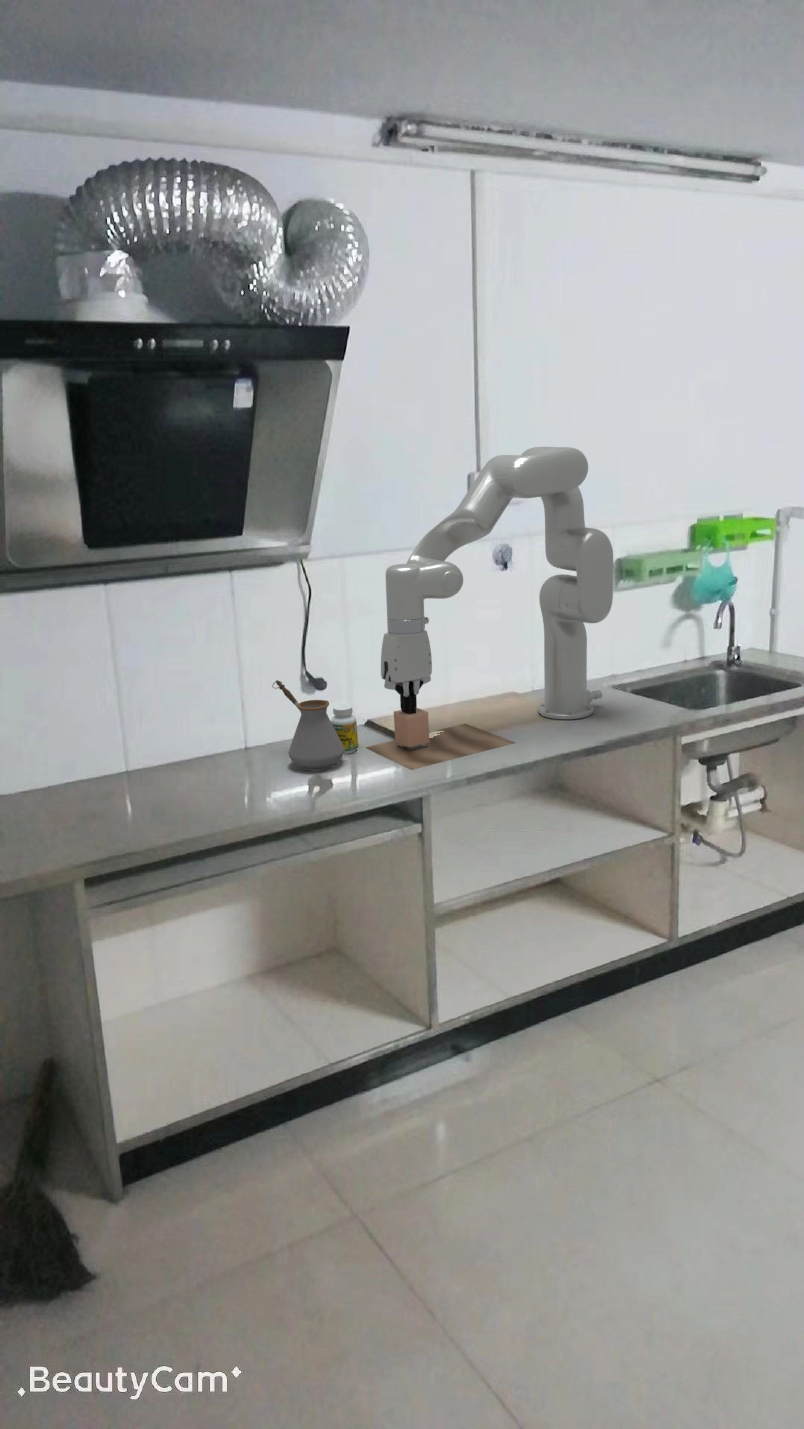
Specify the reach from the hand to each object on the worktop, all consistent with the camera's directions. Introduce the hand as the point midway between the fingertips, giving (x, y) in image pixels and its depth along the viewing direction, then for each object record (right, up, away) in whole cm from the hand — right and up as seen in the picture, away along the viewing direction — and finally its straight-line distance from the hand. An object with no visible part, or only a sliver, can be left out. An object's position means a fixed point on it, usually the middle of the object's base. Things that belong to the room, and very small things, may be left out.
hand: (408, 712), depth 218 cm
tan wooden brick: (+1, -6, +2) cm, 7 cm away
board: (+7, -8, +3) cm, 10 cm away
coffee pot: (-21, -10, +1) cm, 24 cm away
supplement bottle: (-13, -8, +5) cm, 16 cm away
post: (+1, -8, +3) cm, 8 cm away
